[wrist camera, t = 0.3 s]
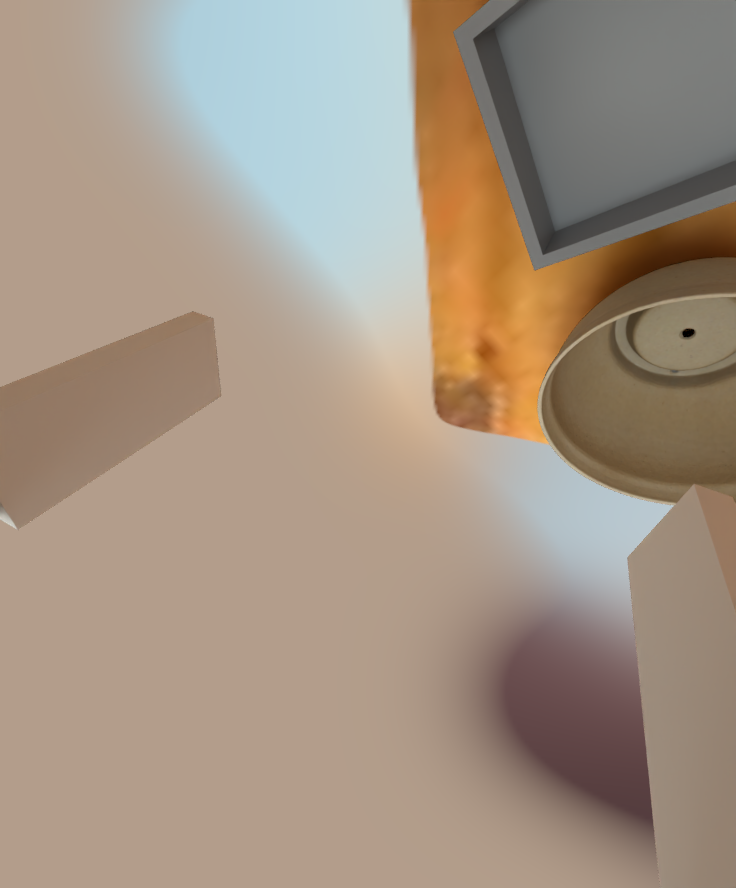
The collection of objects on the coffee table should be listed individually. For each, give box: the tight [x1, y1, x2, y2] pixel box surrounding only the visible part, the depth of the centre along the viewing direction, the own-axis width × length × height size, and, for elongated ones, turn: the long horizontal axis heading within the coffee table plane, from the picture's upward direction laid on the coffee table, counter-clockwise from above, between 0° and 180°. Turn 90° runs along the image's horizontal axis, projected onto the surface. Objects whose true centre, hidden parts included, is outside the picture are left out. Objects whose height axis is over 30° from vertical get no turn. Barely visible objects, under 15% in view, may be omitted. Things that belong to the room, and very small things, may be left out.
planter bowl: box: [538, 257, 736, 505], centre depth 27 cm, size 16×16×11 cm
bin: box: [453, 0, 736, 270], centre depth 19 cm, size 20×14×4 cm
